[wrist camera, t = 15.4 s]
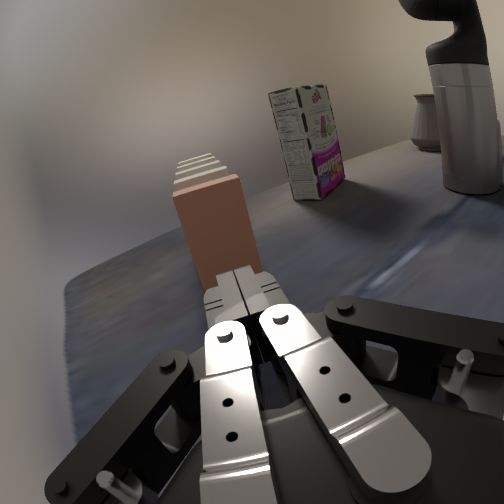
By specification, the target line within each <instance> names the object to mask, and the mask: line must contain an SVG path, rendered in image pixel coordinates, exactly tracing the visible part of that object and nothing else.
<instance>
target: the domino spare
mask: <svg viewBox="0 0 504 504" xmlns="http://www.w3.org/2000/svg"><path fill="white" fill-rule="evenodd" d="M173 200H174V203H175V207H176V210H177V213H178V216H179V219H180V222H181V225H182V228H183V231H184V234H185V237H186V240H187V243H188V246H189V249H190V252H191V255H192V258H193V261H194V263H195V266H196V269H197V272H198V275H199V278H200V280H201V283H202V286H203V289H204V291H205V293H206V291H207V289H210V288H213V287H217V286H218V282H217V278H216V275H217V274H220V273H223V272H227V271H230V270H232V272H233V274H234V277H235V273H234V270H233V269H236V268H239V267H243V266H246V265H249V264H250V266H251V268H252V270H253V272H254V274H258V273H261V272H263V270H262V266H261V262H260V258H259V254H258V250H257V246H256V242H255V238H254V234H253V230H252V226H251V222H250V219H249V215H248V211H247V207H246V203H245V199H244V195H243V191H242V188H241V183H240V179H239V177H238V176H237V175H236V174H233V175H229V176H225V177H222V178H219V179H215V180H212V181H208V182H205V183H202V184H198V185H195V186H192V187H188V188H185V189H182V190H179V191H176V192H173ZM235 280H236V277H235ZM236 283H237V280H236ZM237 286H238V283H237ZM238 288H239V287H238ZM239 291H240V290H239ZM240 294H241V293H240Z"/></svg>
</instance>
